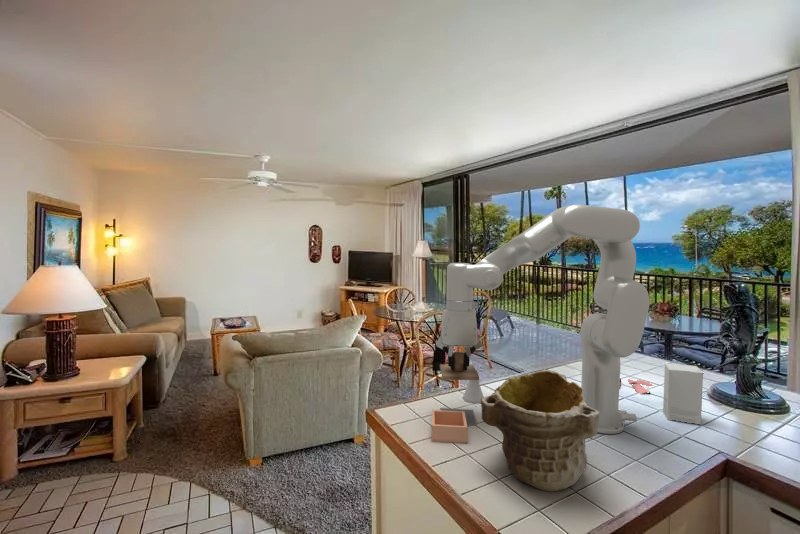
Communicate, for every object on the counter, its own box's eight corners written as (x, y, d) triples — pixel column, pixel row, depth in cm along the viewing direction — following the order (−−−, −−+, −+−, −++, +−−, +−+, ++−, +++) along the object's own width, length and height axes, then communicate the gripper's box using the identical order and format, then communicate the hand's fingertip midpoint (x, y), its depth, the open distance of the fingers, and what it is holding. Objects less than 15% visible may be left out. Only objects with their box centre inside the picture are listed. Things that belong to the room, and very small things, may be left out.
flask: (485, 406, 117) (485, 375, 116) (461, 404, 118) (462, 373, 118) (484, 396, 124) (485, 367, 123) (462, 395, 125) (463, 366, 125)
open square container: (464, 427, 103) (464, 411, 103) (467, 444, 94) (467, 427, 94) (431, 425, 104) (432, 409, 104) (431, 442, 95) (431, 425, 95)
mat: (473, 410, 113) (473, 409, 113) (476, 427, 103) (476, 425, 103) (440, 409, 114) (440, 408, 114) (440, 425, 104) (440, 423, 104)
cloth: (658, 384, 138) (659, 378, 138) (661, 406, 120) (662, 399, 120) (597, 373, 149) (597, 367, 149) (591, 391, 131) (591, 385, 131)
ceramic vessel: (518, 490, 64) (488, 353, 79) (482, 499, 84) (464, 388, 98) (639, 481, 67) (589, 349, 81) (577, 492, 86) (545, 384, 101)
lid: (472, 368, 112) (473, 348, 112) (479, 380, 102) (479, 358, 102) (439, 367, 113) (440, 348, 112) (442, 379, 103) (443, 358, 102)
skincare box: (695, 416, 111) (698, 365, 110) (702, 426, 105) (705, 372, 104) (661, 411, 115) (664, 361, 114) (666, 420, 109) (669, 368, 108)
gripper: (485, 304, 110) (484, 364, 111) (430, 303, 110) (429, 364, 111) (491, 308, 102) (489, 373, 104) (431, 308, 103) (431, 372, 104)
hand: (458, 368), depth 107 cm, fingers closed on lid, 3 cm apart
